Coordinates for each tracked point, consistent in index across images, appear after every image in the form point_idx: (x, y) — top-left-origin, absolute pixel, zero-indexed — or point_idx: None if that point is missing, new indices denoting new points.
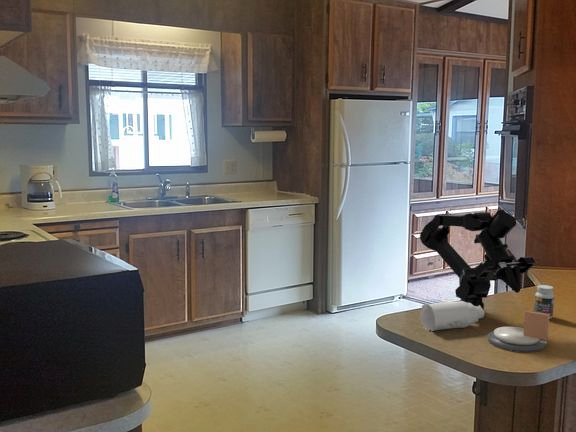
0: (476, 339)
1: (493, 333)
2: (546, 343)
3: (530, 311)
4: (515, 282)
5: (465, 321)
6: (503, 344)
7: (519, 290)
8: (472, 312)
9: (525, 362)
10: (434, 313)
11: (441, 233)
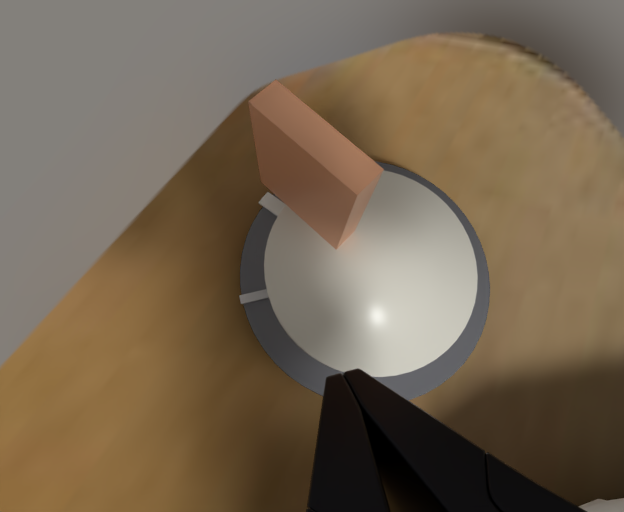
0: (524, 345)
1: (445, 357)
2: (268, 193)
3: (343, 167)
4: (413, 427)
5: (587, 504)
6: (458, 211)
7: (338, 375)
8: None
9: (425, 94)
10: None
11: None
